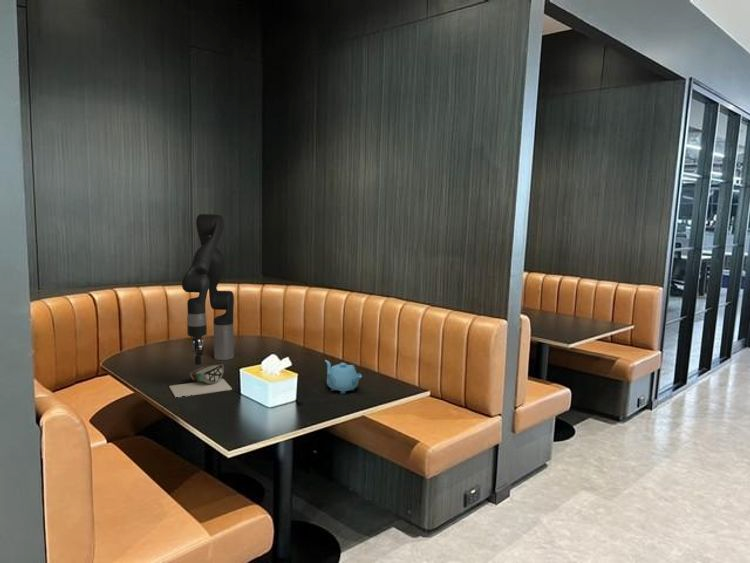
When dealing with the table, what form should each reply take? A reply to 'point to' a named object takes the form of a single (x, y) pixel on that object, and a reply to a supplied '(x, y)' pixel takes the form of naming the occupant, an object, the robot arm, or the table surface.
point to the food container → (208, 374)
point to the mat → (199, 388)
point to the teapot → (342, 377)
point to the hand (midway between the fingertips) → (197, 364)
